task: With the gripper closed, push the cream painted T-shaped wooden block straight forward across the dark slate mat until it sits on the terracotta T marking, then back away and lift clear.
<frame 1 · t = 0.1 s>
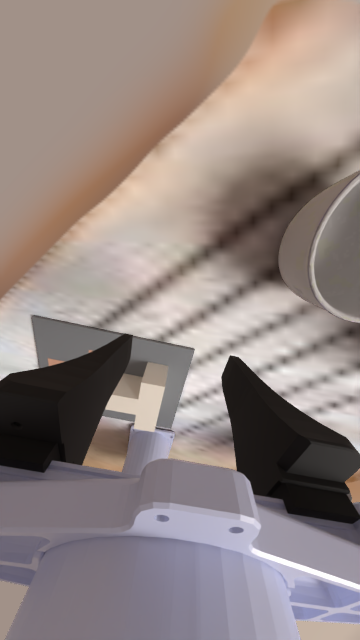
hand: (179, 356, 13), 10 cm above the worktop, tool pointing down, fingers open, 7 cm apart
teacup: (332, 244, 18), on the worktop
slate mat: (112, 379, 27), on the worktop
t block: (153, 386, 27), resting on slate mat
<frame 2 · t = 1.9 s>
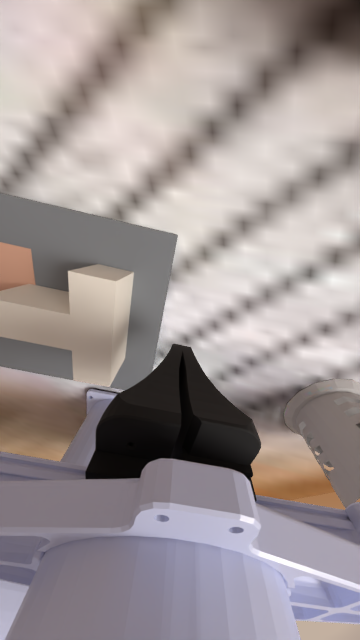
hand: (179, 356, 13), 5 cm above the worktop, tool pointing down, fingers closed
slate mat: (46, 305, 16), on the worktop
t block: (113, 316, 16), resting on slate mat
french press: (330, 412, 21), on the worktop
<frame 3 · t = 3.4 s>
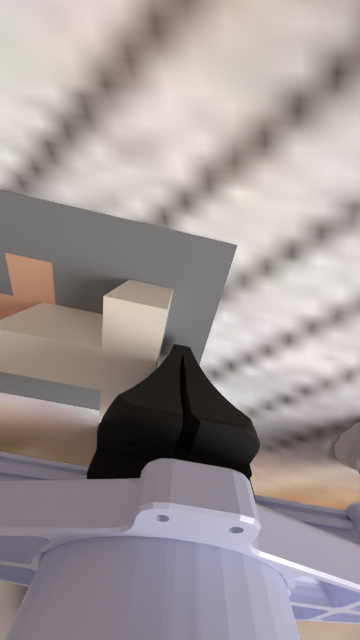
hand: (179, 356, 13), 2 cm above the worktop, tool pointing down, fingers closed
slate mat: (67, 327, 14), on the worktop
t block: (143, 340, 14), resting on slate mat, touching gripper
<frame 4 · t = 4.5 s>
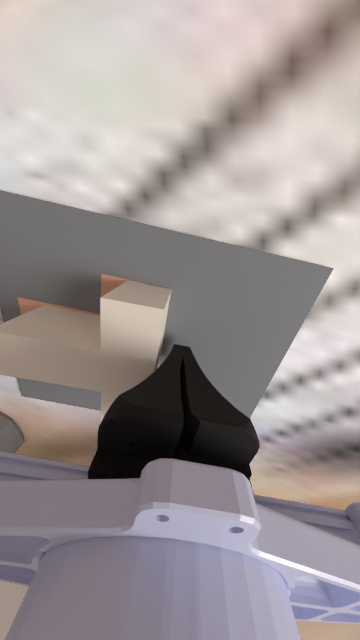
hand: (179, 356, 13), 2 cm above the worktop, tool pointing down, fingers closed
slate mat: (145, 343, 14), on the worktop
t block: (143, 341, 14), resting on slate mat, touching gripper
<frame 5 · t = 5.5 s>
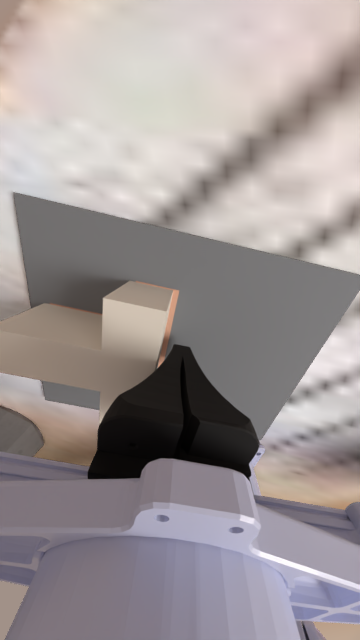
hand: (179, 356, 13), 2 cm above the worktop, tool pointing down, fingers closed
coffeepot: (13, 435, 20), on the worktop
slate mat: (172, 348, 14), on the worktop
t block: (143, 341, 14), resting on slate mat, touching gripper
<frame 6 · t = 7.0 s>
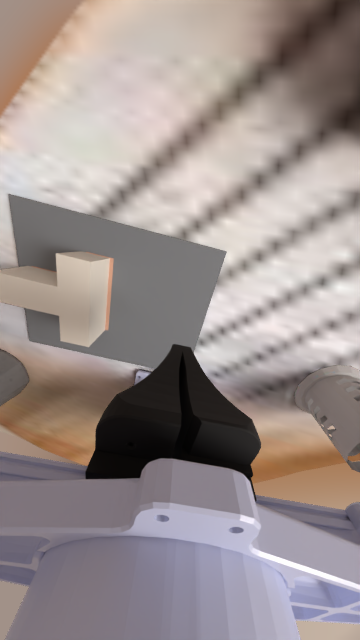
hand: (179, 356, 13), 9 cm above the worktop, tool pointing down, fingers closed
coffeepot: (6, 374, 27), on the worktop
slate mat: (115, 301, 21), on the worktop
t block: (94, 294, 20), resting on slate mat
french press: (332, 393, 26), on the worktop
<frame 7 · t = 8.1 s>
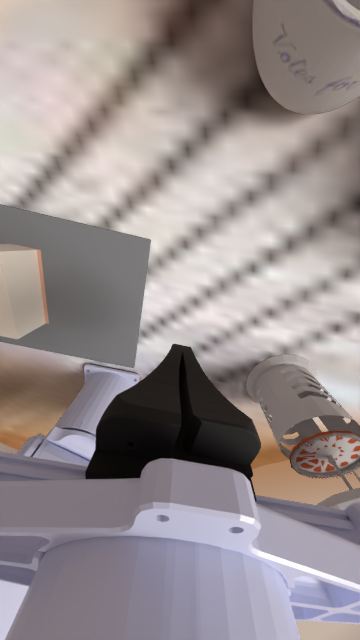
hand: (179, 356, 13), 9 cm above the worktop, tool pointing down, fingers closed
teacup: (334, 34, 12), on the worktop
slate mat: (52, 294, 21), on the worktop
t block: (28, 287, 20), resting on slate mat
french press: (283, 384, 25), on the worktop
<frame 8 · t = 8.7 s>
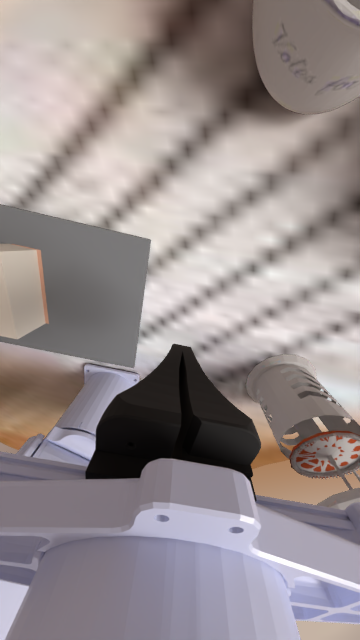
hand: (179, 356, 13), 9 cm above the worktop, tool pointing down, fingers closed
teacup: (334, 34, 12), on the worktop
slate mat: (52, 294, 21), on the worktop
t block: (28, 287, 20), resting on slate mat
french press: (283, 384, 25), on the worktop
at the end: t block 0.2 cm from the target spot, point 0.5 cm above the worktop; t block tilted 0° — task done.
